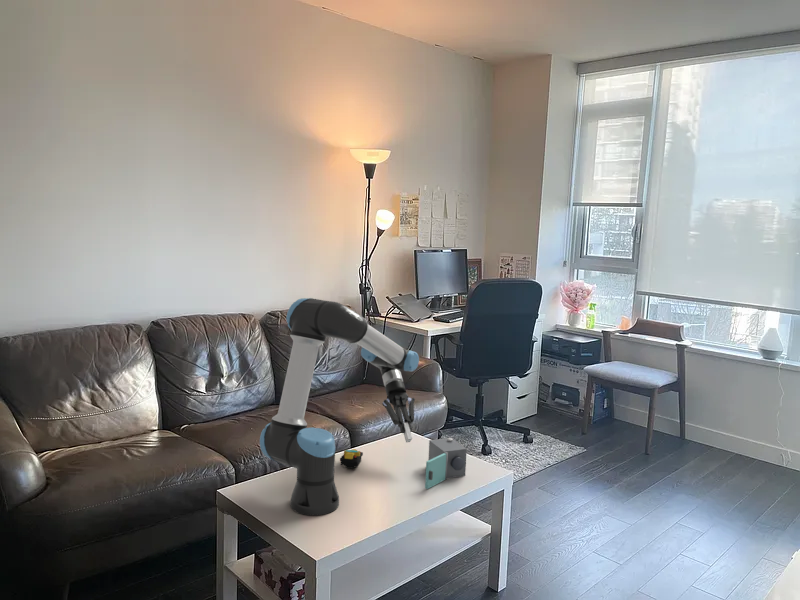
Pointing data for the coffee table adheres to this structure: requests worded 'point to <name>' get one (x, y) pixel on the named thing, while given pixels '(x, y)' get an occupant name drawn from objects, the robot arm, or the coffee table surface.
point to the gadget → (351, 458)
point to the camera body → (450, 455)
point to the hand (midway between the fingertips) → (409, 440)
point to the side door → (436, 470)
